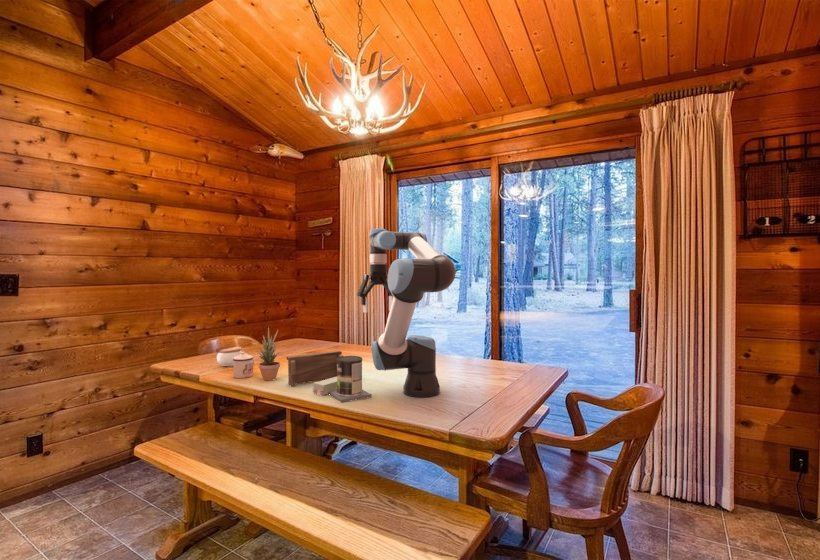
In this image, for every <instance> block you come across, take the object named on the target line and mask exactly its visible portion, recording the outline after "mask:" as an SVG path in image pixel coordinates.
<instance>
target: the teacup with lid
mask: <svg viewBox="0 0 820 560" xmlns="http://www.w3.org/2000/svg"><path fill="white" fill-rule="evenodd" d="M254 365H255V360H254V356H253V355H250V354H248V353H246V351H241V354H239V355H238V356H236V357H234V358H233V366H232V367H233V377H234V378H235V379H246V378H245V377H247V378H250V376H251V377H253V375H254Z"/></svg>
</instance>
